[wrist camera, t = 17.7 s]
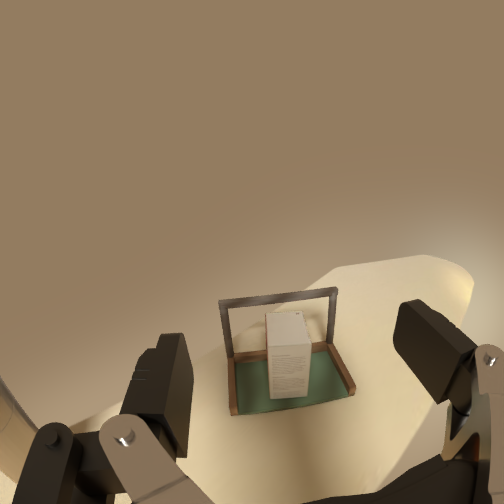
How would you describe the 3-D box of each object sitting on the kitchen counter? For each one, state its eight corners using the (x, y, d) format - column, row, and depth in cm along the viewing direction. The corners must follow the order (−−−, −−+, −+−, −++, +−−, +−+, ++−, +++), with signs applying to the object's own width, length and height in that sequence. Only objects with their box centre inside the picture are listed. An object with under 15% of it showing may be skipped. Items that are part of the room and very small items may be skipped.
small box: (267, 365, 43) (264, 311, 39) (301, 362, 43) (303, 309, 39) (269, 400, 35) (265, 345, 32) (308, 397, 35) (312, 342, 32)
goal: (230, 415, 33) (216, 350, 29) (228, 362, 45) (218, 299, 41) (354, 394, 35) (369, 327, 31) (330, 348, 46) (335, 286, 42)
